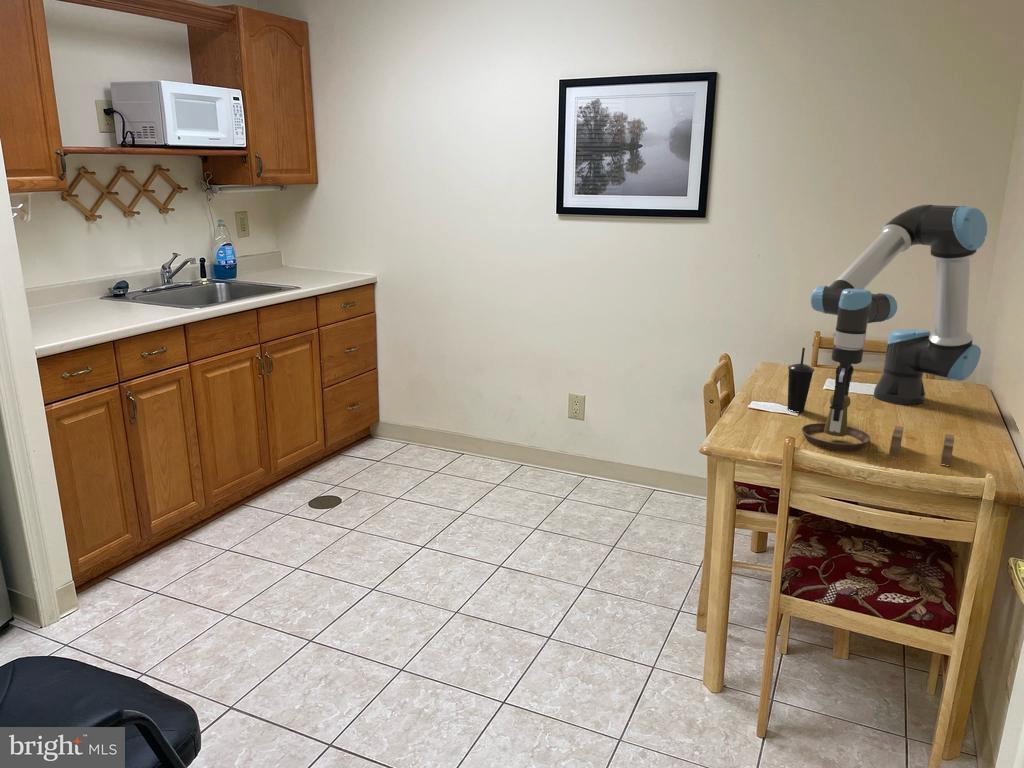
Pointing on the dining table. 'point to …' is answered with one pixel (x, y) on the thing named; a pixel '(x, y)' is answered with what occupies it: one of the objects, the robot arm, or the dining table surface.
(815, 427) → the plant saucer
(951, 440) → the wooden bookends
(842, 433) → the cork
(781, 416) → the dining table surface
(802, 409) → the drinking cup
